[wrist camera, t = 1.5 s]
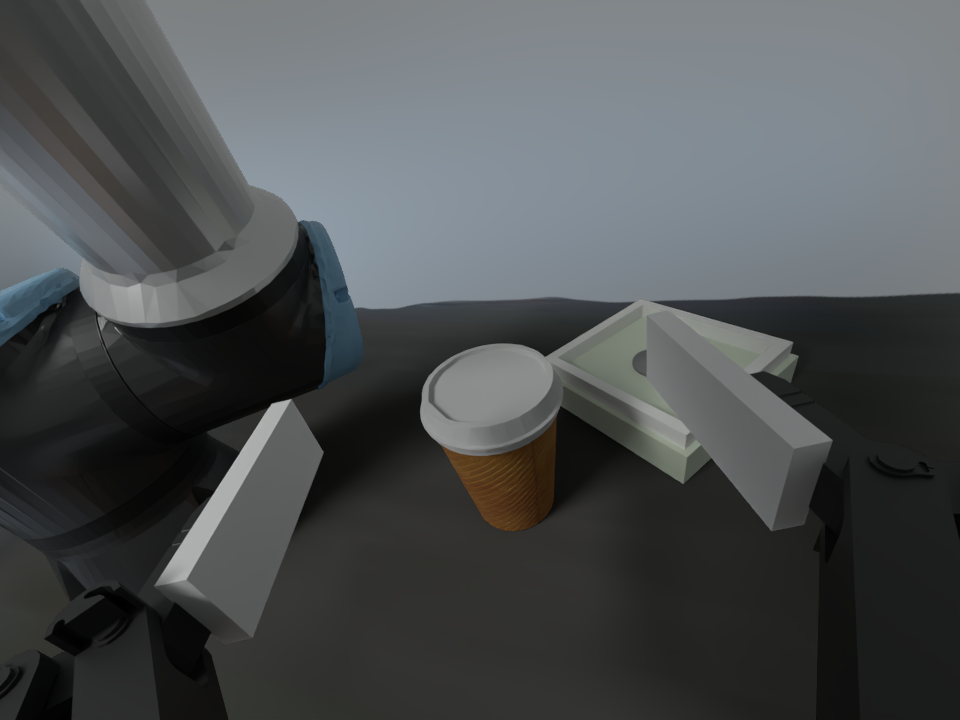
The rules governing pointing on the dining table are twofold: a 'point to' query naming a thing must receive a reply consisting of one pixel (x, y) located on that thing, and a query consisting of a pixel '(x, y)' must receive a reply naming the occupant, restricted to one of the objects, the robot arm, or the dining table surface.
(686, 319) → the square rimmed tray
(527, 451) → the disposable coffee cup
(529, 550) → the dining table surface
